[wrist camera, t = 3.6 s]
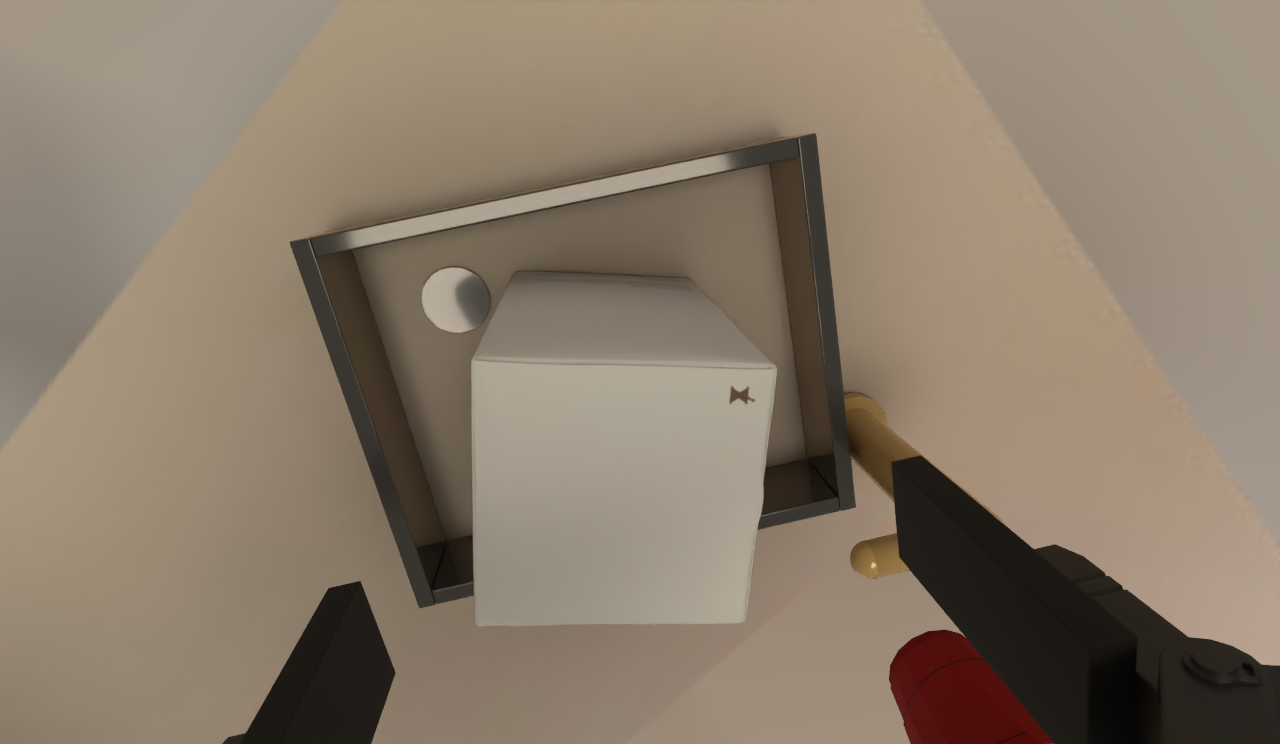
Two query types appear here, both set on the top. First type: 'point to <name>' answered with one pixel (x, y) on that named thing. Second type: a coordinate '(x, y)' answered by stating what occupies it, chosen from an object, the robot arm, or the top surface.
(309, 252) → the sink
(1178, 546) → the top surface
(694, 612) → the rectangular carton
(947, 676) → the plastic cup
